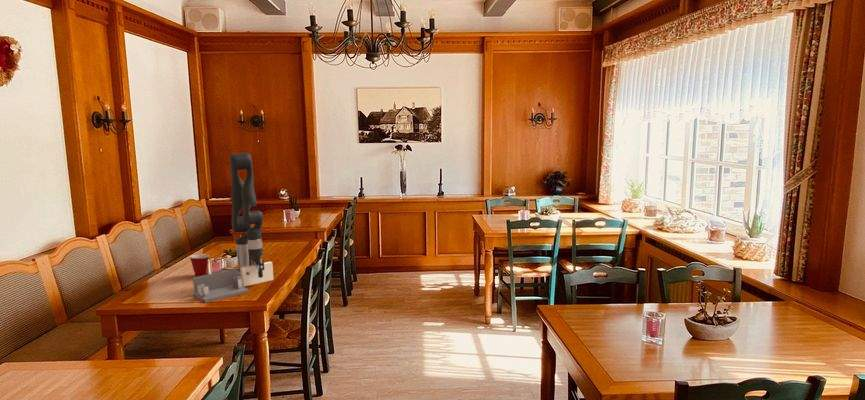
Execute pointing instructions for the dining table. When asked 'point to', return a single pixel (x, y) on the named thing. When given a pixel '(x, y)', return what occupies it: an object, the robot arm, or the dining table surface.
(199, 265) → the plastic cup
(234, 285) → the hinge bracket
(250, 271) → the door
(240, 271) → the tin
